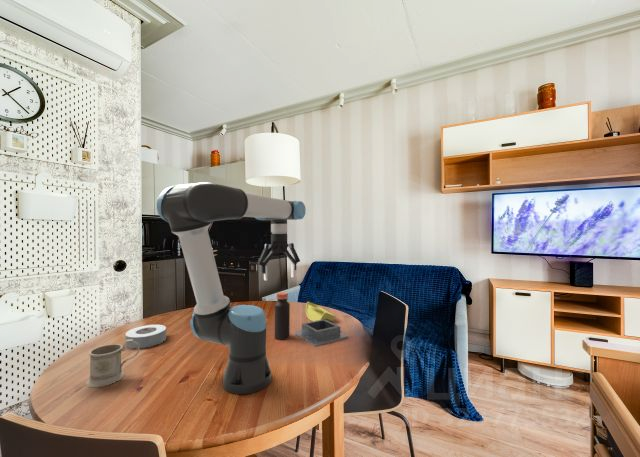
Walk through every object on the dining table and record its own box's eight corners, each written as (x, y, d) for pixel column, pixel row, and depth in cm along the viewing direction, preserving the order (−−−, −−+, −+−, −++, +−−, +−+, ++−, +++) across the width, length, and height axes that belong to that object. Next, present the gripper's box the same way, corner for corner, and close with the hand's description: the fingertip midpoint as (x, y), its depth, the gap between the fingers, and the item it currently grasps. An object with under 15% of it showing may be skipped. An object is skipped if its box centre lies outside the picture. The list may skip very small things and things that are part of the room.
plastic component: (337, 317, 151) (323, 311, 146) (331, 330, 150) (317, 325, 145) (318, 305, 168) (305, 300, 163) (313, 317, 167) (300, 312, 162)
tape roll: (153, 349, 115) (153, 336, 115) (116, 349, 115) (116, 336, 115) (172, 335, 130) (173, 324, 130) (140, 335, 130) (140, 324, 130)
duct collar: (314, 346, 118) (314, 335, 118) (294, 333, 133) (294, 323, 133) (347, 337, 128) (348, 327, 128) (325, 326, 143) (325, 316, 143)
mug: (79, 389, 85) (80, 350, 85) (95, 373, 95) (95, 338, 95) (133, 382, 89) (134, 344, 90) (143, 368, 99) (144, 334, 99)
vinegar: (287, 340, 124) (287, 295, 125) (272, 339, 125) (272, 294, 126) (291, 334, 131) (291, 292, 131) (277, 333, 132) (277, 291, 132)
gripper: (299, 232, 139) (299, 274, 140) (250, 233, 126) (250, 280, 127) (306, 232, 133) (307, 277, 133) (255, 233, 120) (256, 283, 120)
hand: (279, 278), depth 130 cm, fingers open, 13 cm apart
